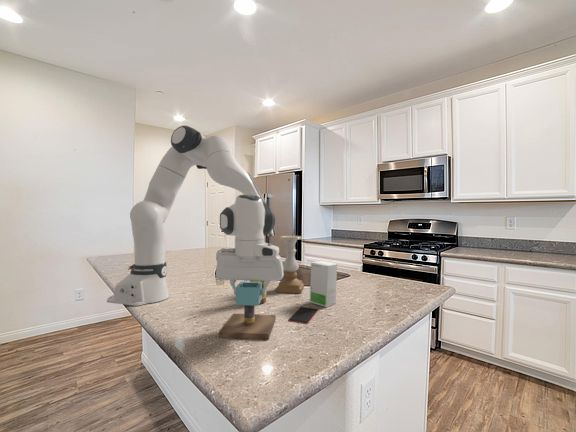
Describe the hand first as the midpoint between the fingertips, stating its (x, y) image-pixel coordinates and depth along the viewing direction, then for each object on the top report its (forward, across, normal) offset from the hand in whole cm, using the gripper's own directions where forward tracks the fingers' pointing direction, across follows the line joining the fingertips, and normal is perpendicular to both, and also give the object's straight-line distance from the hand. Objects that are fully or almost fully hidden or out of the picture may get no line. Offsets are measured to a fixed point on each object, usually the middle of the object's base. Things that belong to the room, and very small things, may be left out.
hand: (249, 294), depth 84 cm
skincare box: (+10, +23, +25) cm, 35 cm away
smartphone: (+11, +16, +12) cm, 22 cm away
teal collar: (+2, 0, -1) cm, 2 cm away
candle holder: (+10, +9, +42) cm, 44 cm away
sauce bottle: (+10, -2, +24) cm, 26 cm away
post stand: (+10, 0, 0) cm, 10 cm away
